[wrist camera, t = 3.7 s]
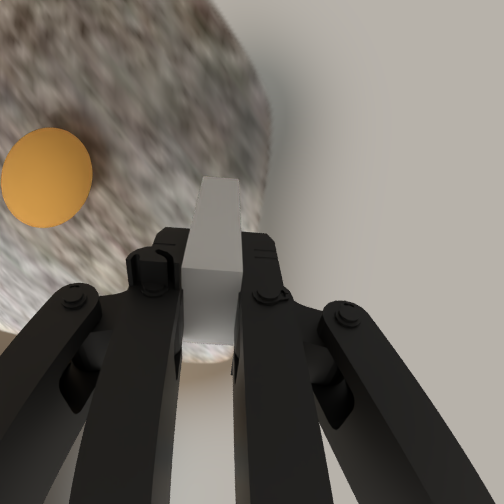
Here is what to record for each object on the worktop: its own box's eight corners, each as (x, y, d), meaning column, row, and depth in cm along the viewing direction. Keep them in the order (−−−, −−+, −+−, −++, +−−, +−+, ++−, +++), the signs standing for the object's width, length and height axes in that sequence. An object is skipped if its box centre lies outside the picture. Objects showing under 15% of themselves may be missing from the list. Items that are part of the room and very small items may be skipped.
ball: (29, 121, 15) (-25, 148, 10) (105, 116, 16) (60, 140, 11) (38, 200, 18) (-5, 244, 13) (108, 202, 19) (74, 251, 14)
